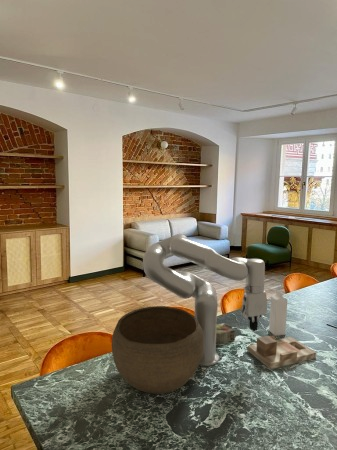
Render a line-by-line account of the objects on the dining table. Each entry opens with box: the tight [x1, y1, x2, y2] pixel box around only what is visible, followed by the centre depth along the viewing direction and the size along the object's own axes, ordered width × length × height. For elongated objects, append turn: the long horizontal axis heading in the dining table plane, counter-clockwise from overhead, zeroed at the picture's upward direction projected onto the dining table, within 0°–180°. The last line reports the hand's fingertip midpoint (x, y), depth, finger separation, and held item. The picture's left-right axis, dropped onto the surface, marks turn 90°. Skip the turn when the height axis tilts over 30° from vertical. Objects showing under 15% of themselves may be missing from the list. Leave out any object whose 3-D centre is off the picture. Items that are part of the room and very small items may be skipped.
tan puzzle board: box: [247, 335, 317, 370], centre depth 152 cm, size 25×16×5 cm, turn 112°
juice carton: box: [216, 322, 237, 345], centre depth 165 cm, size 20×10×6 cm, turn 116°
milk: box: [268, 289, 288, 337], centre depth 172 cm, size 6×6×22 cm
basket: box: [111, 305, 204, 395], centre depth 130 cm, size 35×35×25 cm
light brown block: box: [256, 335, 277, 357], centre depth 148 cm, size 6×6×6 cm
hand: (253, 329), depth 144 cm, fingers closed
